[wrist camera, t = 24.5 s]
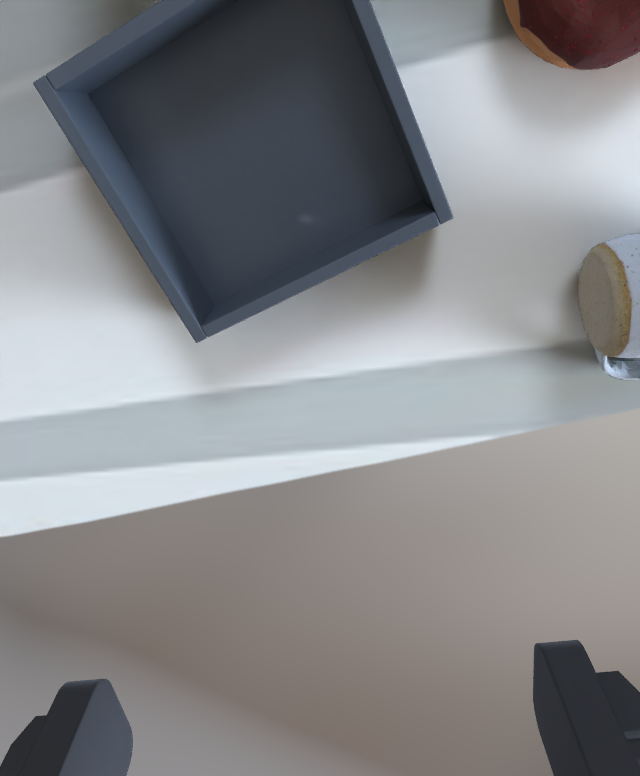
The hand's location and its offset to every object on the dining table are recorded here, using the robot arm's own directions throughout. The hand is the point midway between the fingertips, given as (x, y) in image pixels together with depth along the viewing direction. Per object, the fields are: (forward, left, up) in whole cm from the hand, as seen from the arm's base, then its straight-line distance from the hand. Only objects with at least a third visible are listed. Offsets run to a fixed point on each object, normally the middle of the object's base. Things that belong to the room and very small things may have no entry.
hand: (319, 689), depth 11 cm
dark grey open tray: (0, -9, -30) cm, 31 cm away
